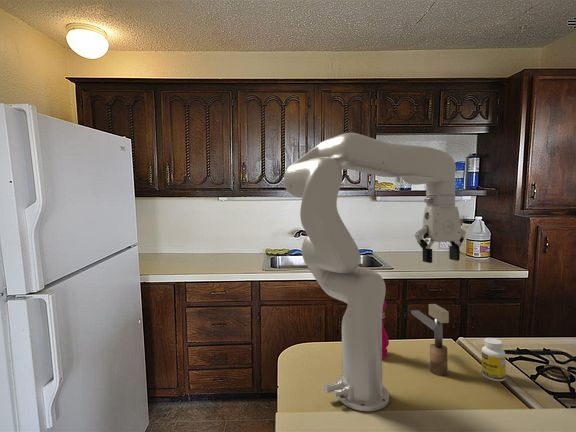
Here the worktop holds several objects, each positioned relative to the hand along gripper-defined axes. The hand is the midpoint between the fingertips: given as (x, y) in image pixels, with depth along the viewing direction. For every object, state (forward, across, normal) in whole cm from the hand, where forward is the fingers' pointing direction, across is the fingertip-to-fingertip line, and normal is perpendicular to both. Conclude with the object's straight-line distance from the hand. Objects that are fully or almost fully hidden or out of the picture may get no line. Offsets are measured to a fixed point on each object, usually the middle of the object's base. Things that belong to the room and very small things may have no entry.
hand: (441, 261), depth 93 cm
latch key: (+23, -2, +3) cm, 23 cm away
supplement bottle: (+31, +8, -10) cm, 33 cm away
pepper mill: (+31, -14, +12) cm, 36 cm away
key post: (+30, -4, -3) cm, 31 cm away
